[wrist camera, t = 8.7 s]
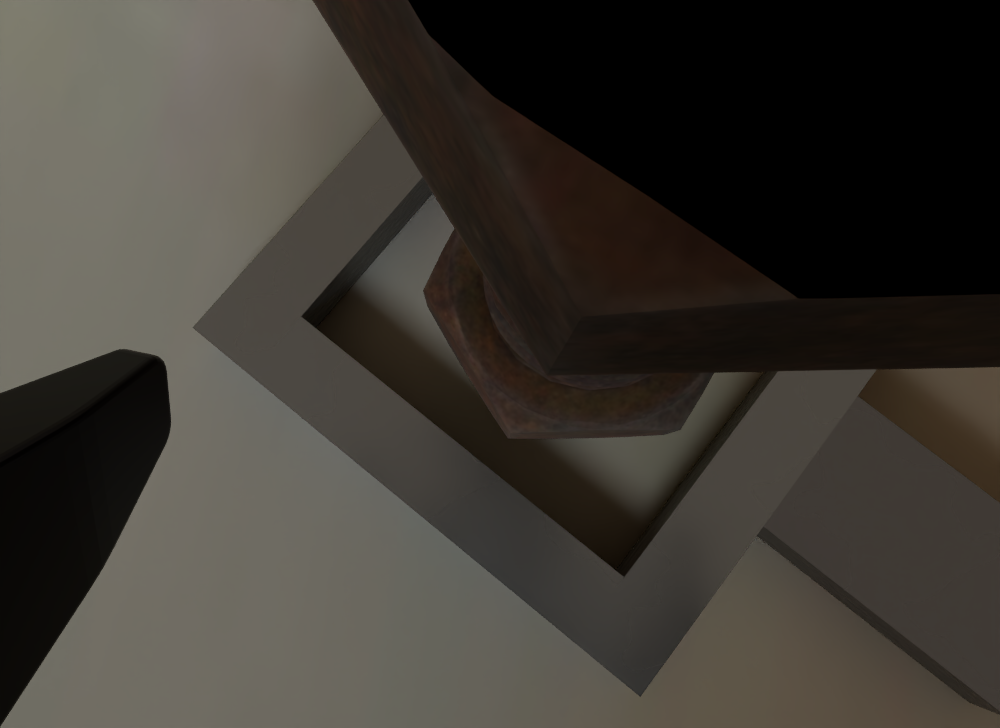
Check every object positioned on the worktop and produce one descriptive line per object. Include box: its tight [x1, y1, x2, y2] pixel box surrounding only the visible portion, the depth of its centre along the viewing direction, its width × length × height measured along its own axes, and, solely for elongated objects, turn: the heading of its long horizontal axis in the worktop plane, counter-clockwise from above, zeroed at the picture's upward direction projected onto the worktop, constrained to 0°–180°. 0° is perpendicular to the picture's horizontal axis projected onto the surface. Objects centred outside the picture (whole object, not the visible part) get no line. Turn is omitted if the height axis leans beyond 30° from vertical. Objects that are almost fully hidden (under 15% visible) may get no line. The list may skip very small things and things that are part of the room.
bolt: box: [313, 0, 1000, 439], centre depth 10 cm, size 6×5×15 cm
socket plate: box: [193, 115, 1000, 714], centre depth 16 cm, size 16×11×1 cm, turn 51°
